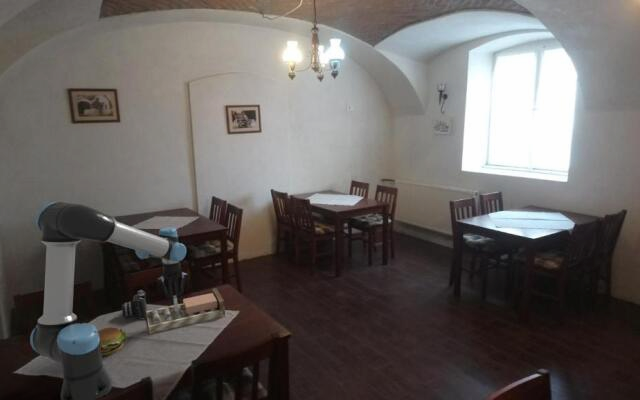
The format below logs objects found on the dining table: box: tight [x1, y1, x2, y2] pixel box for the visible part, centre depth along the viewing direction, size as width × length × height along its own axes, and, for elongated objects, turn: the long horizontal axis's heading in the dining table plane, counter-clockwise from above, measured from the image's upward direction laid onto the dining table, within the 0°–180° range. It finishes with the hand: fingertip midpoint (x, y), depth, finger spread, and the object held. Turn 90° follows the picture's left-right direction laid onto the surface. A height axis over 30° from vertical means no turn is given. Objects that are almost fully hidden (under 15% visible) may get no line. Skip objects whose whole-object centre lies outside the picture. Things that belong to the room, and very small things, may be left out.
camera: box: [121, 289, 148, 320], centre depth 197 cm, size 14×11×10 cm
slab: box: [182, 292, 218, 314], centre depth 195 cm, size 14×10×4 cm
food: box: [97, 326, 127, 356], centre depth 168 cm, size 14×14×8 cm
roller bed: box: [146, 287, 226, 335], centre depth 193 cm, size 33×17×8 cm, turn 116°
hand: (176, 310), depth 191 cm, fingers closed
